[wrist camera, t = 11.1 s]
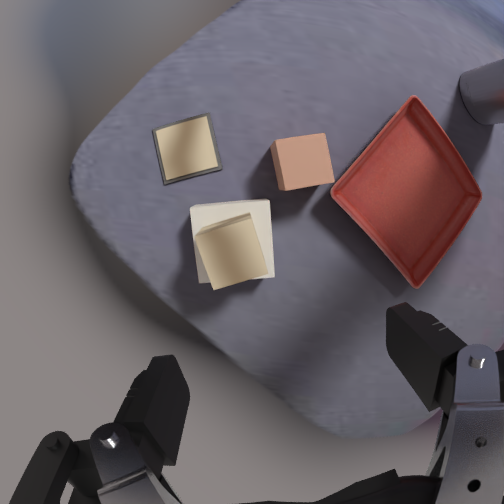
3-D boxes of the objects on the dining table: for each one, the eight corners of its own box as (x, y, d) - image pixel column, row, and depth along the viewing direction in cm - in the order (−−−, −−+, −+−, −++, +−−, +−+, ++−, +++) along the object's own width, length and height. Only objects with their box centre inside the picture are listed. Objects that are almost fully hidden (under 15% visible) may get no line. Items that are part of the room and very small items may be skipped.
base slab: (266, 198, 32) (269, 200, 28) (270, 266, 34) (274, 277, 30) (196, 204, 32) (189, 207, 28) (203, 271, 34) (199, 283, 30)
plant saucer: (471, 193, 32) (485, 195, 29) (405, 284, 35) (417, 292, 32) (401, 97, 29) (414, 91, 26) (318, 191, 32) (326, 193, 29)
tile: (209, 112, 29) (209, 111, 28) (222, 169, 30) (222, 168, 30) (152, 129, 29) (151, 128, 29) (165, 184, 31) (164, 184, 30)
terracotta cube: (312, 140, 30) (324, 132, 25) (321, 182, 31) (334, 182, 26) (270, 146, 30) (275, 140, 25) (278, 189, 31) (285, 190, 26)
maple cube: (249, 212, 28) (251, 218, 23) (264, 258, 29) (268, 273, 24) (202, 227, 28) (194, 236, 23) (218, 272, 30) (213, 290, 25)
